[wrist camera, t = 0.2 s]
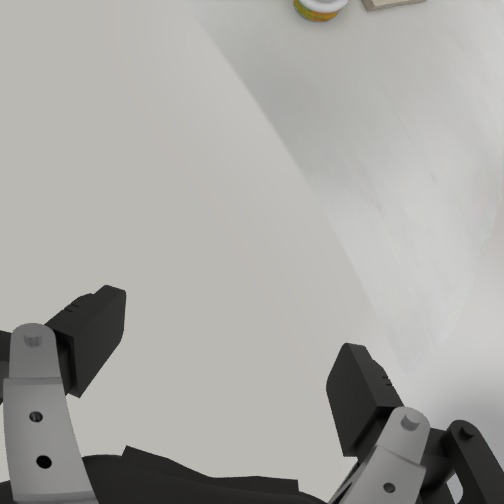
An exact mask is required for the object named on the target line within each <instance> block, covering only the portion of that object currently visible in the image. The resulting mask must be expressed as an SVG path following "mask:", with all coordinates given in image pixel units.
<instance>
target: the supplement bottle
mask: <svg viewBox="0 0 504 504" xmlns="http://www.w3.org/2000/svg"><path fill="white" fill-rule="evenodd" d="M347 2H348V0H293V3H294V6H295V9H296V10H297V12H298V13H299V14H300V15H301V16H302V17H304V18H306V19H308V20H310V21H314V22H325V21H328V20H330V19H332V18H334V17H335V16H336V15H337V14H338V13H339V11H340V10H341V9H342V8H343V7H344V6H345V5H346V4H347Z"/></svg>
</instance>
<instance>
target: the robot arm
mask: <svg viewBox="0 0 504 504" xmlns="http://www.w3.org/2000/svg"><path fill="white" fill-rule="evenodd" d="M125 305H126V292H125V290H122V289H119V288H115V287H112V286H109V285H105V286H103V287H102V288H101V289H99V290H98V291H97V292H96V293H95V294H91V293H89V294H86V295H84V296H80V297H78V298H77V299H75V300H74V301H73V302H72V303H71V304H70V305H68V306H67V307H65V308H64V310H61V311H60V312H59V313H58V314H56V316H54V317H53V318H52V319H50V320H49V321H48V322H47V323H45V324H44V325H42V324H38V323H28V324H24V325H20V326H19V327H17V328H16V329H15V330H14V331H13V333H9V332H5V331H1V330H0V405H1V403H2V402H3V412H4V433H5V445H6V454H7V462H8V469H9V476H10V480H9V481H5V482H1V483H0V504H455V503H454V500H453V498H452V495H451V493H450V490H449V488H448V486H447V483H446V482H447V481H448V480H449V479H450V478H451V477H452V476H453V475H454V474H455V473H456V474H457V476H458V478H459V481H460V483H461V485H462V487H463V496H462V498H461V500H460V502H459V503H457V504H504V472H503V470H502V468H501V467H500V465H499V463H498V461H497V460H496V458H495V456H494V455H493V453H492V451H491V450H490V448H489V446H488V444H487V443H486V441H485V440H484V438H483V437H482V435H481V433H480V432H479V430H478V429H477V428H476V427H475V426H474V425H472V424H471V423H469V422H467V421H464V420H455V421H453V422H452V423H451V424H450V426H449V427H448V428H447V430H446V431H443V430H439V429H434V428H430V424H429V421H428V420H427V418H426V417H425V416H424V415H423V414H422V413H420V412H419V411H417V410H415V409H413V408H409V407H405V406H404V405H403V403H402V401H401V399H400V397H399V395H398V394H397V392H396V390H395V388H394V387H393V386H392V383H391V381H390V379H388V376H387V374H386V372H385V371H384V369H383V368H382V367H381V366H380V365H379V364H378V363H377V362H376V361H375V360H373V359H372V358H371V356H370V354H369V352H368V350H367V349H366V347H365V346H363V345H356V344H350V343H345V344H344V345H343V346H342V347H341V349H340V352H339V354H338V356H337V359H336V361H335V363H334V366H333V368H332V370H331V372H330V374H329V377H328V380H327V384H326V392H327V396H328V399H329V403H330V406H331V410H332V414H333V418H334V421H335V425H336V429H337V433H338V437H339V441H340V444H341V448H342V452H343V456H344V457H346V456H347V457H351V456H352V457H357V458H358V461H357V462H356V464H355V465H354V466H353V467H352V469H351V471H350V472H349V474H348V475H347V477H346V478H345V480H344V481H343V482H342V484H341V485H340V487H339V488H338V489H337V491H336V492H335V494H334V495H333V497H332V498H331V499H330V500H329V502H328V503H326V502H324V501H322V500H321V499H318V498H316V497H314V496H312V495H309V494H306V493H304V492H300V491H299V488H298V480H293V479H281V478H269V477H261V476H249V477H230V478H229V477H226V478H213V477H208V476H206V475H203V474H201V473H199V472H196V471H194V470H192V469H189V468H187V467H185V466H183V465H181V464H179V463H177V462H174V461H172V460H170V459H168V458H165V457H162V456H158V455H154V454H151V453H148V452H145V451H142V450H139V449H136V448H133V447H130V446H126V447H125V450H124V452H123V454H122V456H119V455H91V456H85V457H81V455H80V452H79V448H78V445H77V442H76V438H75V434H74V431H73V427H72V423H71V419H70V415H69V411H68V407H67V402H66V397H65V396H66V395H67V394H68V393H69V394H71V395H74V396H76V397H78V398H80V397H81V395H82V394H83V392H84V391H85V390H86V388H87V387H88V385H89V384H90V383H91V381H92V380H93V379H94V377H95V376H96V374H97V373H98V371H99V370H100V369H101V368H102V366H103V365H104V363H105V362H106V361H107V359H108V358H109V357H110V355H111V354H112V353H113V351H114V350H115V348H116V347H117V346H118V344H119V343H120V341H121V338H122V335H123V331H124V318H125Z"/></svg>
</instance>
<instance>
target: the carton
mask: <svg viewBox="0 0 504 504" xmlns="http://www.w3.org/2000/svg"><path fill="white" fill-rule="evenodd" d="M425 1H427V0H362V2H363V4H364V6H365V8H366V10H367V12H368V11H373V10H378V9H383V8H388V7H393V6H399V5H405V4H412V3H419V2H425Z"/></svg>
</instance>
